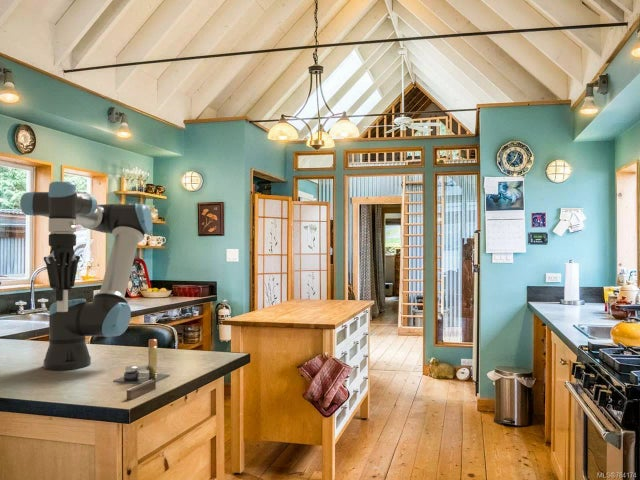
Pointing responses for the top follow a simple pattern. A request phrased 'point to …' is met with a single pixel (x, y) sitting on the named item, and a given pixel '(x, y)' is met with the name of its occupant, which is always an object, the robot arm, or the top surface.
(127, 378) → the crank base
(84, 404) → the top surface
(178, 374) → the top surface
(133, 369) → the crank
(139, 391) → the batten
